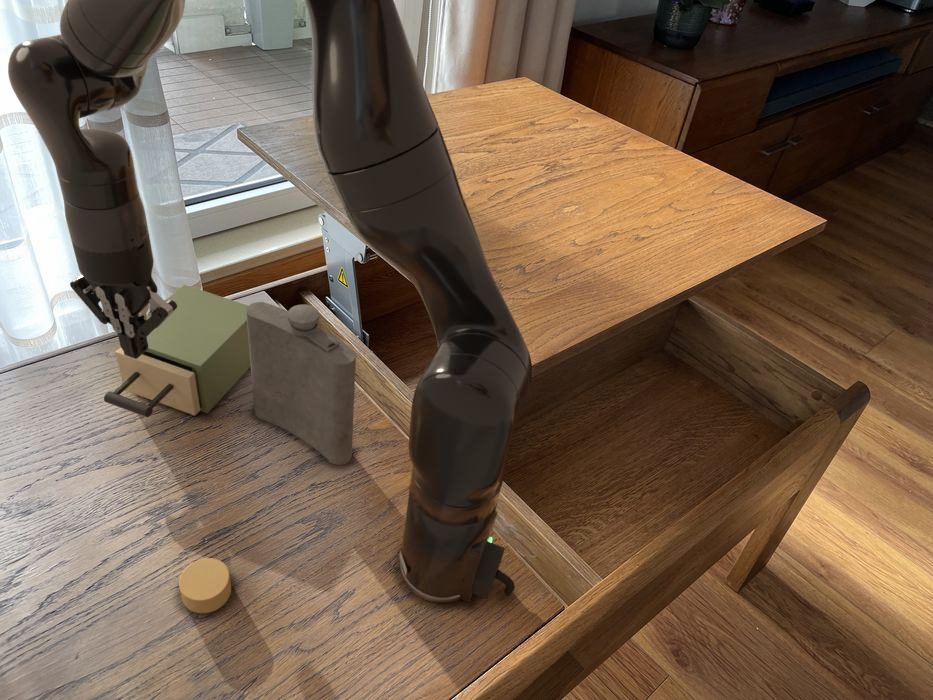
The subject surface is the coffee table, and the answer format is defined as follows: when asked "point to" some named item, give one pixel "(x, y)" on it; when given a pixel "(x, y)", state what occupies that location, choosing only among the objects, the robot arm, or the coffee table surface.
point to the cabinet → (205, 340)
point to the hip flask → (302, 377)
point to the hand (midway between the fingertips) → (136, 353)
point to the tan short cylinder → (205, 585)
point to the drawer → (155, 384)
